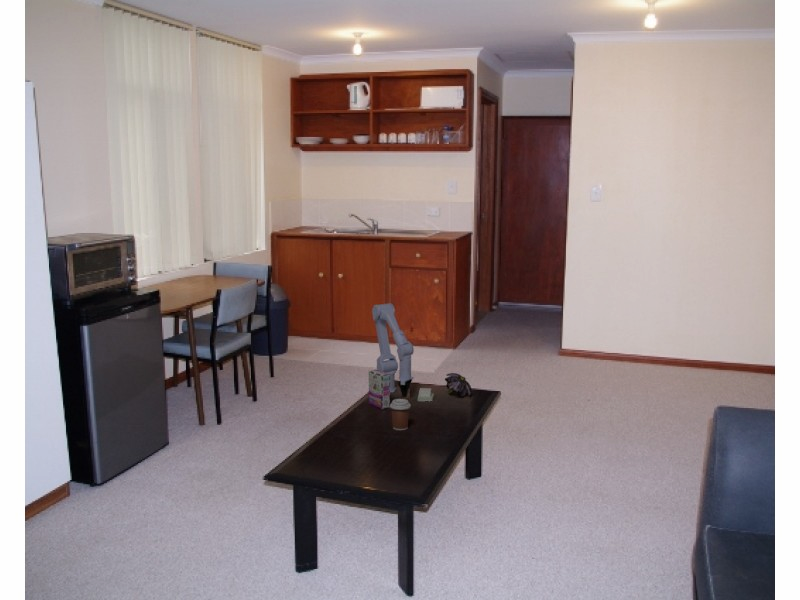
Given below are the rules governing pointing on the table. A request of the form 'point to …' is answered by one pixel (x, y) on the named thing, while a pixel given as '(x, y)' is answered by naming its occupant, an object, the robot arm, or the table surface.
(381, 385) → the candy bar box
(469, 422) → the table surface
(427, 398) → the sage base block
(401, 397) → the terracotta cylinder
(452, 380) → the decorative flower
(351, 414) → the table surface
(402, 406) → the coffee cup
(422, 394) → the off-white top block
